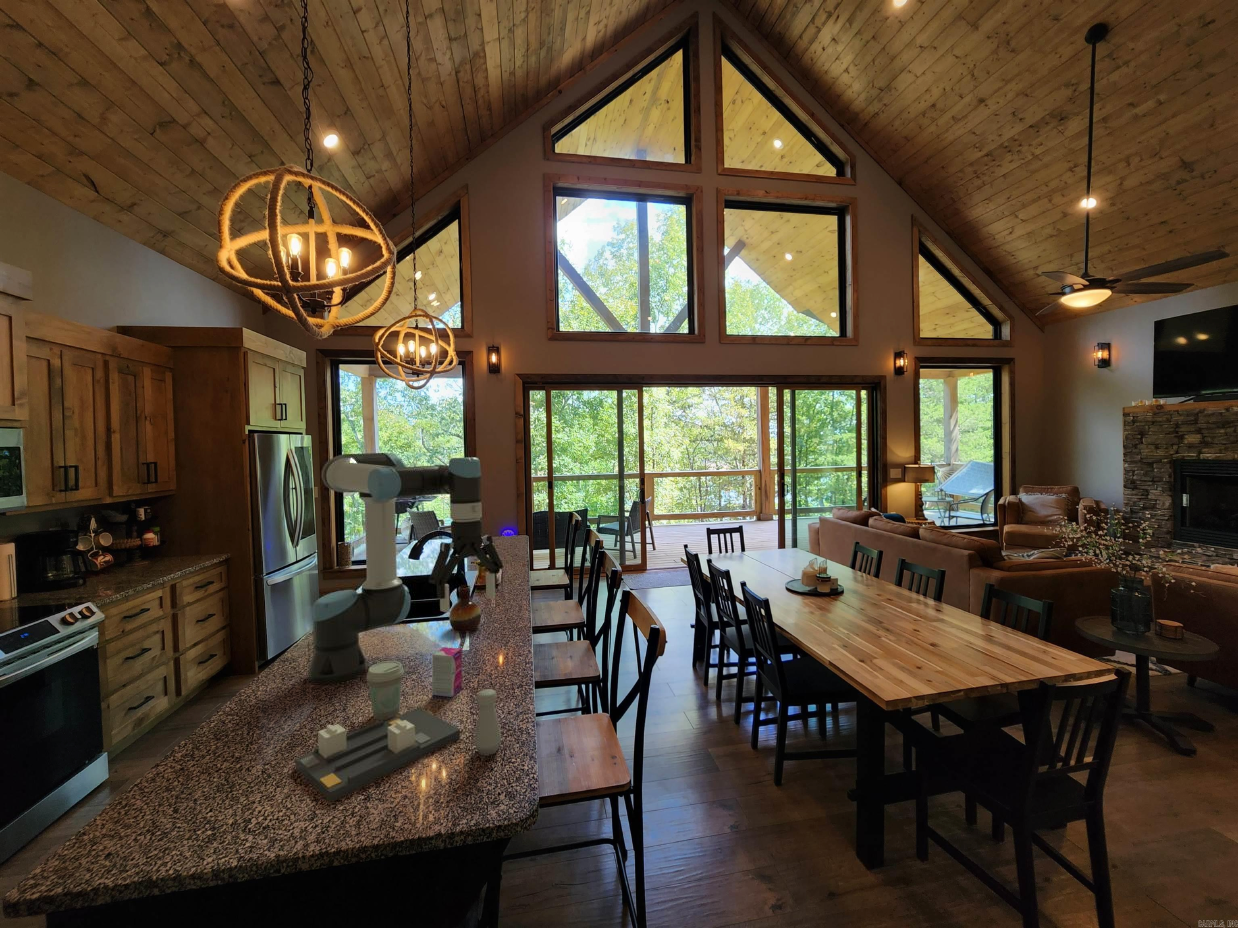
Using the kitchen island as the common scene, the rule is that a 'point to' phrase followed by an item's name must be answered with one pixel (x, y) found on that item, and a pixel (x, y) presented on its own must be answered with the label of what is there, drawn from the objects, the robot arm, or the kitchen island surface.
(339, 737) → the white slider knob
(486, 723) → the salt shaker
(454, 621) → the vase
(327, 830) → the kitchen island surface
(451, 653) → the supplement box
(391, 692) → the coffee cup
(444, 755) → the kitchen island surface
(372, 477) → the robot arm
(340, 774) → the switch bank
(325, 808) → the kitchen island surface
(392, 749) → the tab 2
